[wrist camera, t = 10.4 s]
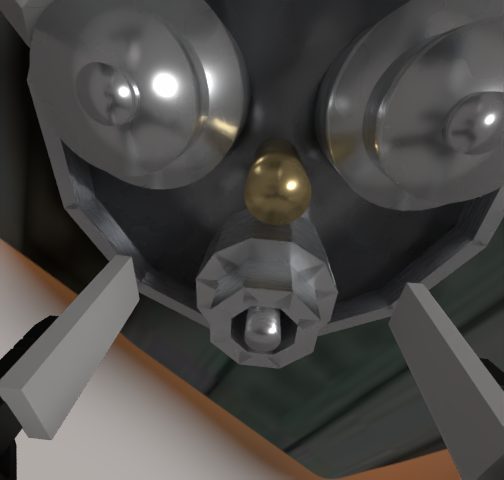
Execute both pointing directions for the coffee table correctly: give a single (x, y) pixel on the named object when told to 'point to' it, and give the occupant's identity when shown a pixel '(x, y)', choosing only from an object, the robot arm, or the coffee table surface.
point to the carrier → (277, 135)
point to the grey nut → (265, 286)
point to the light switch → (24, 15)
